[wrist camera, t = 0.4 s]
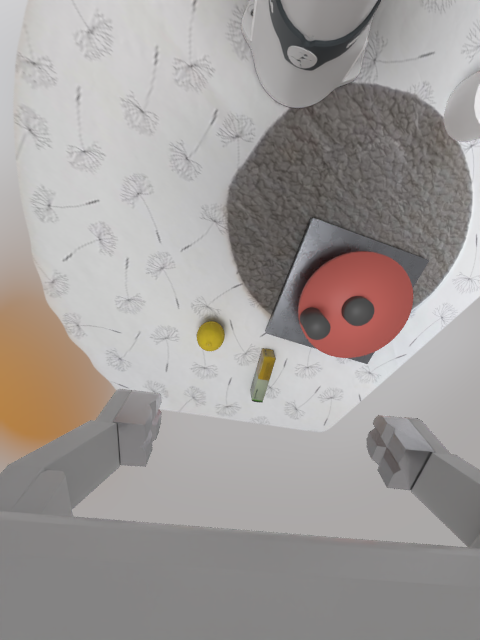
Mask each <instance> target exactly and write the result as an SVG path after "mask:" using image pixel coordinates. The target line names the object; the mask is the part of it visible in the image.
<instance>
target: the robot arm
mask: <svg viewBox="0 0 480 640" xmlns="http://www.w3.org/2000/svg"><path fill="white" fill-rule="evenodd" d="M380 2H381V0H249V2H248V4H247V7H246V9H245V12H244V14H243V17H242V21H241V31H242V34H243V36H244V38H245V40H246V41H247V43H248V45H249V46H250V48H251V50H252V54H253V59H254V64H255V68H256V72H257V75H258V78H259V80H260V82H261V84H262V86H263V87H264V89H265V90H266V92H267V93H268V94H269V95H270V96H271V97H272V98H273V99H274V100H276V101H277V102H279V103H280V104H282V105H285V106H288V107H292V108H303V107H308V106H311V105H314V104H316V103H318V102H319V101H321V100H322V99H324V98H325V97H326V96H327V95H328V94H330V93H331V92H332V91H333V90H334V89H335V88H337V87H339V86H342V85H345V84H348V83H350V82H352V81H354V80H355V79H356V78H357V76H358V75H359V73H360V70H361V67H362V62H363V58H364V54H365V49H366V45H367V43H368V40H369V39H368V36H369V32H370V28H371V24H372V19H373V16H374V14H375V12H376V10H377V8H378V5H379V4H380ZM252 12H253V17H252V16H251V13H252ZM160 405H161V394H160V393H152V392H144V391H136V390H126V389H118V390H117V391H116V392H115V393H114V395H113V396H112V397H111V399H110V400H109V402H108V403H107V405H106V406H105V407H104V409H103V410H102V412H101V413H100V415H99V416H98V417H97V419H96V420H95V421H91V420H90V421H89V422H87V423H85V424H83V425H81V426H79V427H78V428H76V429H74V430H72V431H70V432H68V433H66V434H65V435H63V436H61V437H59V438H57V439H56V440H54V441H52V442H50V443H48V444H46V445H44V446H43V447H41V448H39V449H37V450H35V451H33V452H31V453H29V454H28V455H26V456H24V457H22V458H21V459H18V460H17V461H15V462H13V463H11V464H9V465H8V466H7V467H6V468H5V469H4V470H3V471H2V472H1V474H0V640H480V470H479V469H478V468H476V467H474V466H473V465H471V464H470V463H468V462H466V461H465V460H463V459H461V458H460V457H458V456H457V455H454V454H451V453H450V452H449V451H448V450H447V449H446V448H445V447H444V446H443V444H442V443H441V442H440V441H439V440H438V439H437V437H436V436H435V435H434V434H433V433H432V432H431V431H430V430H429V428H428V427H427V426H426V425H425V424H424V423H423V421H421V420H420V419H418V418H406V417H404V418H402V417H391V416H381V415H378V416H377V417H376V418H375V419H374V422H373V425H374V427H375V428H374V429H373V430H372V431H370V432H369V434H368V437H367V449H368V452H369V455H370V457H371V458H372V459H373V460H374V461H375V462H376V463H377V464H378V465H379V466H378V472H379V474H380V475H381V477H382V479H383V481H384V483H385V485H386V487H387V488H394V489H395V488H396V489H404V490H411V492H412V493H413V494H414V495H415V496H416V497H417V498H418V499H419V500H420V501H421V502H422V503H423V504H424V505H425V506H426V507H427V508H428V509H429V510H430V511H431V512H432V513H433V514H434V515H435V516H437V517H438V518H439V519H440V520H441V521H442V522H443V523H444V524H445V525H446V526H447V527H448V528H449V529H450V530H451V531H452V532H453V533H454V534H455V535H456V536H457V537H458V538H459V539H460V540H461V541H462V542H463V543H465V544H466V545H467V546H468V547H469V548H468V547H454V546H443V545H430V544H417V543H404V542H390V541H377V540H363V539H351V538H338V537H326V536H313V535H301V534H288V533H274V532H263V531H250V530H237V529H224V528H212V527H199V526H186V525H174V524H161V523H148V522H135V521H122V520H110V519H97V518H84V517H73V514H72V509H73V508H74V507H75V506H76V505H77V504H78V503H80V502H81V501H82V500H83V499H84V498H85V497H86V496H88V495H89V494H90V493H91V492H92V491H93V490H94V489H95V488H97V487H98V486H99V485H100V484H101V483H102V482H103V481H104V480H105V479H107V478H108V477H109V476H110V475H111V474H112V473H113V472H114V471H115V470H116V469H118V468H119V466H120V465H128V466H146V464H147V462H148V459H149V457H150V454H151V452H152V442H153V441H154V440H156V438H157V435H158V433H159V428H160V424H161V411H160V410H159V407H160Z"/></svg>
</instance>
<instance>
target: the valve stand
mask: <svg viewBox="0 0 480 640" xmlns="http://www.w3.org/2000/svg"><path fill="white" fill-rule="evenodd" d="M356 251H369V252H375V253H379V254H382V255H385V256H387V257H389V258H391V259H393V260H394V261H396V262H397V263H398V264H399V265H401V266H402V267H403V269H404V270H405V271H406V273H407V275H408V276H409V278H410V281H411V284H412V288H413V287H414V285H415V283H416V282H417V280H418V278H419V277H420V275H421V273H422V272H423V270H424V268H425V267H426V265H427V263H428V262H429V260H427V259H424V258H422V257H419V256H416V255H413V254H411V253H408V252H405V251H402V250H400V249H397V248H394V247H392V246H389V245H386V244H383V243H381V242H378V241H375V240H373V239H370V238H367V237H364V236H362V235H359V234H356V233H353V232H351V231H348V230H345V229H343V228H340V227H337V226H334V225H332V224H329V223H326V222H324V221H321V220H318V219H315V218H310V221H309V223H308V226H307V228H306V231H305V233H304V236H303V238H302V241H301V243H300V246H299V248H298V251H297V253H296V256H295V258H294V261H293V263H292V266H291V268H290V271H289V273H288V275H287V278H286V280H285V283H284V285H283V288H282V290H281V293H280V295H279V298H278V300H277V303H276V305H275V308H274V310H273V313H272V315H271V318H270V320H269V323H268V325H267V328H266V330H265V331H266V333H267V334H270V335H273V336H276V337H280V338H283V339H286V340H290V341H293V342H296V343H299V344H303V345H306V346H309V347H313V348H315V347H314V346H313V345H312V344H311V343H310V342H309V341H308V339H307V338H306V336H305V334H304V333H303V331H302V329H301V326H300V323H299V318H298V304H299V299H300V296H301V293H302V290H303V288H304V286H305V284H306V283H307V281H308V280H309V278H310V277H311V276H312V275H313V274H314V272H315V271H316V270H317V269H319V268H320V267H321V266H322V265H323V264H325V263H326V262H328V261H329V260H331V259H333V258H335V257H337V256H340V255H342V254H346V253H349V252H356ZM316 349H317V348H316ZM373 354H374V352H372V353H370V354H367V355H364V356H360V357H353V358H349V359H352V360H355V361H359V362H362V363H365V364H368V362H369V360H370V359H371V357H372V355H373Z"/></svg>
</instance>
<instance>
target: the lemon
mask: <svg viewBox="0 0 480 640" xmlns="http://www.w3.org/2000/svg"><path fill="white" fill-rule="evenodd" d="M224 336H225V334H224V330H223V328H222V326H221V325H220V324H218V323H217V322H213V321H210V322H206V323H204V324H203V325H201V327H200V328H199V330H198V332H197V341H198V344H199V346H200V347H201V348H202V349H204V350H206V351H214V350H216V349H218V348H219V347H220V346H221V345H222V343H223V341H224Z"/></svg>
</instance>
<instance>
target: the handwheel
mask: <svg viewBox="0 0 480 640" xmlns="http://www.w3.org/2000/svg"><path fill="white" fill-rule="evenodd" d="M412 304H413V289H412V284H411V281H410V278H409V276H408V275H407V273H406V271H405V270H404V269H403V267H402V266H401V265H399V264H398V263H397V262H396V261H394V260H393V259H391V258H389V257H387V256H385V255H382V254H379V253H375V252H369V251H356V252H349V253H346V254H342V255H340V256H337V257H335V258H333V259H331V260H329V261H328V262H326V263H325V264H323V265H322V266H321V267H320V268H319V269H317V270H316V271H315V272H314V274H313V275H312V276H311V277H310V278H309V280H308V281H307V283H306V284H305V286H304V288H303V290H302V293H301V296H300V299H299V304H298V318H299V323H300V326H301V329H302V331H303V333H304V334H305V336H306V338H307V339H308V341H309V342H310V343H311V344H312V345H313V346H314V347H315V348H317V349H318V350H319V351H321V352H323V353H325V354H328V355H331V356H335V357H340V358H353V357H360V356H364V355H367V354H370V353H372V352H375V351H377V350H379V349H380V348H382V347H384V346H385V345H386V344H388V343H389V342H390V341H392V340H393V339H394V338H395V337H396V336H397V335H398V333H399V332H400V331H401V330H402V328H403V327H404V325H405V323H406V322H407V320H408V318H409V315H410V313H411V309H412Z"/></svg>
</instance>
